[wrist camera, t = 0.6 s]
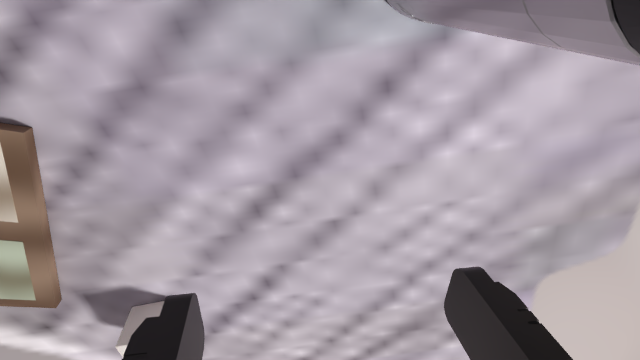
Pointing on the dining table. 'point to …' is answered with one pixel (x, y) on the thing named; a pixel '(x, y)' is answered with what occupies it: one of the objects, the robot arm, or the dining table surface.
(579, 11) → the robot arm
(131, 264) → the dining table surface
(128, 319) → the die
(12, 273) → the board
